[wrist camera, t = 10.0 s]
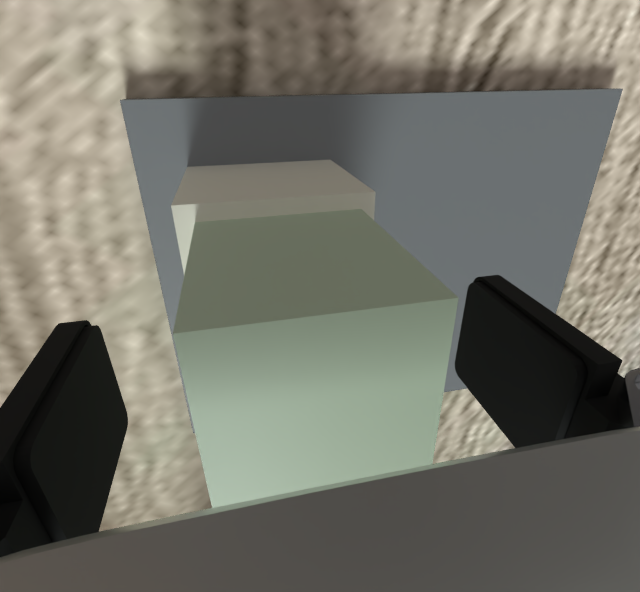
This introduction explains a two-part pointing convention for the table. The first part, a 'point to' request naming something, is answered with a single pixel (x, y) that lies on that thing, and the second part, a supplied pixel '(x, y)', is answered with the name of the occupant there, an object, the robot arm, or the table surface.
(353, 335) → the sage block
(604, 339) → the table surface
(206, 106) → the board
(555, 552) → the robot arm
